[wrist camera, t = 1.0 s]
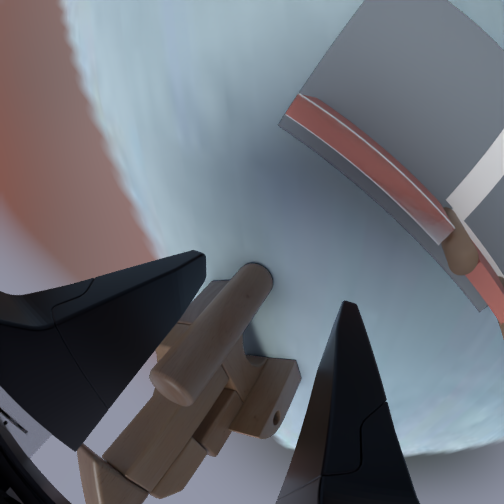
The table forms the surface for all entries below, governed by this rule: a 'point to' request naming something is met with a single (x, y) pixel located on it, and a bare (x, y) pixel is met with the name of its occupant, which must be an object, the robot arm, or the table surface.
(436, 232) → the gate panel
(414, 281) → the table surface
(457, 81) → the board
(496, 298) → the fixed fence
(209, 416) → the wooden toy
